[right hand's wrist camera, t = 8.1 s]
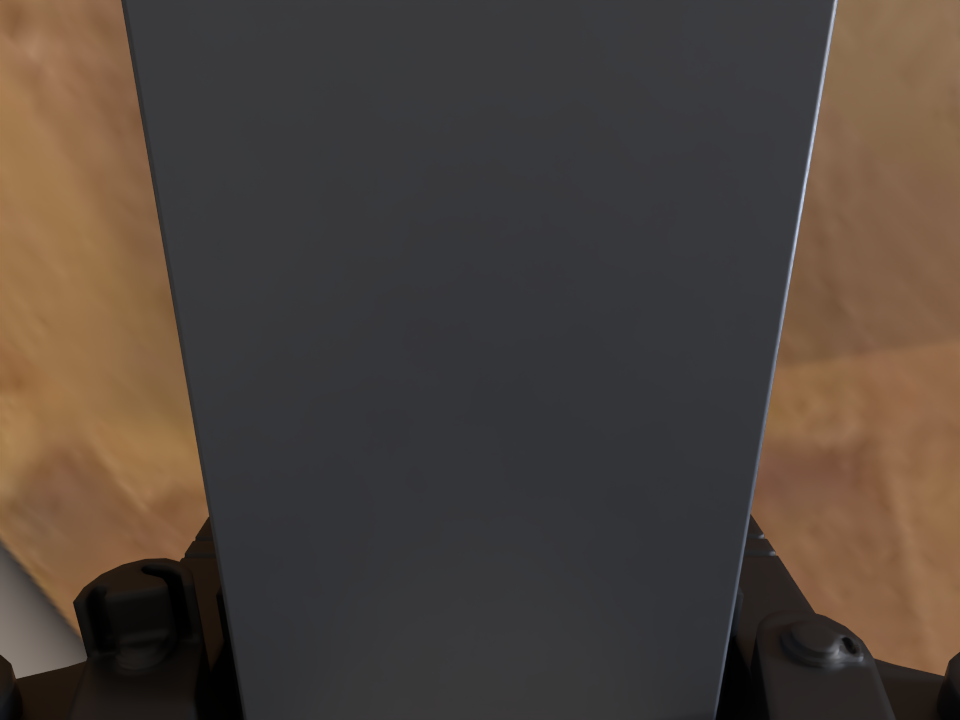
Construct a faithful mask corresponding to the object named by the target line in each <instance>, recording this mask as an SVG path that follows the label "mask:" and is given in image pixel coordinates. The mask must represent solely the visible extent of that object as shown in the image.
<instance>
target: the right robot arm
mask: <svg viewBox="0 0 960 720" xmlns="http://www.w3.org/2000/svg"><path fill="white" fill-rule="evenodd" d="M73 604H74V608H75V612H76V616H77V620H78V623H79V627H80V631H81V635H82V638H83V642H84V646H85V650H86V653H87V657H88V658H87V660H86V661H85V662H82V663H78V664H75V665H72V666H69V667H65V668H61V669H57V670H52V671H48V672H44V673H40V674H35V675H31V676H27V677H23V678H19V679H16V678H15V675H14V672H13V668H12V665H11V663H9V662H8V661H7V660H6V659H5V658H4V657H3V656H1V655H0V720H244V716H243V710H242V704H241V698H240V693H239V687H238V681H237V675H236V669H235V663H234V657H233V652H232V646H231V640H230V634H229V628H228V622H227V616H226V611H225V605H224V599H223V593H222V587H221V581H220V575H219V570H218V564H217V558H216V552H215V546H214V540H213V534H212V529H211V523H210V517H208V519H207V520H206V522H205V523H204V525H203V526H202V528H201V530H200V531H199V533H198V534H197V536H196V539H195V541H193V542H192V543H191V545H190V547H189V548H188V550H187V551H186V553H185V557H184V558H182V559H181V560H180V562H178V561H175V560H171V559H167V558H160V559H143V560H139V561H135V562H131V563H127V564H123V565H121V566H119V567H116V568H114V569H112V570H110V571H108V572H106V573H103V574H101V575H100V576H99V577H97V578H96V579H95V580H93V581H92V582H91V583H89V584H88V585H87V586H85V587H84V588H83V589H82V591H81V592H80V593H79V595H78V596H77V598H76V599H75V600H74V602H73ZM715 720H960V652H959V653H958V654H957V655H956V656H954V657H953V658H952V659H951V660H950V661H949V663H948V666H947V670H946V673H945V676H941V675H937V674H932V673H928V672H924V671H919V670H915V669H911V668H907V667H902V666H898V665H894V664H890V663H887V662H884V661H881V660H877V659H874V658H873V657H872V655H871V653H870V652H869V650H868V649H867V647H866V646H865V644H864V642H863V641H862V640H861V639H860V638H859V637H857V636H856V635H855V634H854V633H853V632H851V631H850V630H849V629H848V628H847V627H845V626H843V625H841V624H839V623H838V622H836V621H834V620H832V619H830V618H828V617H826V616H823V615H819V614H816V613H815V612H814V611H813V609H812V608H811V606H810V604H809V603H808V601H807V600H806V598H805V597H804V595H803V594H802V592H801V591H800V589H799V588H798V586H797V584H796V583H795V581H794V580H793V578H792V577H791V575H790V574H789V572H788V571H787V569H786V568H785V566H784V564H783V563H782V561H781V560H780V558H779V557H778V556H776V555H775V551H774V549H773V548H772V546H771V544H770V543H769V541H768V540H767V539H765V538H764V534H763V532H762V531H761V529H760V528H759V526H758V524H757V523H756V521H755V520H754V518H753V517H752V515H751V514H750V519H749V525H748V531H747V537H746V543H745V548H744V554H743V560H742V566H741V572H740V578H739V584H738V590H737V595H736V601H735V607H734V613H733V619H732V625H731V631H730V636H729V642H728V648H727V654H726V660H725V666H724V672H723V678H722V683H721V689H720V695H719V701H718V707H717V713H716V719H715Z"/></svg>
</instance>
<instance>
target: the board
mask: <svg viewBox="0 0 960 720" xmlns="http://www.w3.org/2000/svg"><path fill="white" fill-rule="evenodd" d="M121 1H122V7H123V13H124V19H125V25H126V31H127V36H128V42H129V48H130V54H131V60H132V66H133V72H134V77H135V83H136V89H137V95H138V101H139V107H140V113H141V118H142V124H143V130H144V136H145V142H146V148H147V154H148V159H149V165H150V171H151V177H152V183H153V189H154V195H155V200H156V206H157V212H158V218H159V224H160V230H161V236H162V241H163V247H164V253H165V259H166V265H167V271H168V277H169V282H170V288H171V294H172V300H173V306H174V312H175V318H176V323H177V329H178V335H179V341H180V347H181V353H182V359H183V364H184V370H185V376H186V382H187V388H188V394H189V400H190V405H191V411H192V417H193V423H194V429H195V435H196V441H197V446H198V452H199V458H200V464H201V470H202V476H203V482H204V487H205V493H206V499H207V505H208V511H209V517H210V523H211V529H212V534H213V540H214V546H215V552H216V558H217V564H218V570H219V575H220V581H221V587H222V593H223V599H224V605H225V611H226V616H227V622H228V628H229V634H230V640H231V646H232V652H233V657H234V663H235V669H236V675H237V681H238V687H239V693H240V698H241V704H242V710H243V716H244V720H715V719H716V713H717V707H718V701H719V695H720V689H721V683H722V678H723V672H724V666H725V660H726V654H727V648H728V642H729V636H730V631H731V625H732V619H733V613H734V607H735V601H736V595H737V590H738V584H739V578H740V572H741V566H742V560H743V554H744V548H745V543H746V537H747V531H748V525H749V519H750V513H751V507H752V502H753V496H754V490H755V484H756V478H757V472H758V466H759V460H760V455H761V449H762V443H763V437H764V431H765V425H766V419H767V413H768V408H769V402H770V396H771V390H772V384H773V378H774V372H775V367H776V361H777V355H778V349H779V343H780V337H781V331H782V325H783V320H784V314H785V308H786V302H787V296H788V290H789V284H790V279H791V273H792V267H793V261H794V255H795V249H796V243H797V237H798V232H799V226H800V220H801V214H802V208H803V202H804V196H805V191H806V185H807V179H808V173H809V167H810V161H811V155H812V149H813V144H814V138H815V132H816V126H817V120H818V114H819V108H820V102H821V97H822V91H823V85H824V79H825V73H826V67H827V61H828V56H829V50H830V44H831V38H832V32H833V26H834V20H835V14H836V9H837V3H838V0H121Z"/></svg>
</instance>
